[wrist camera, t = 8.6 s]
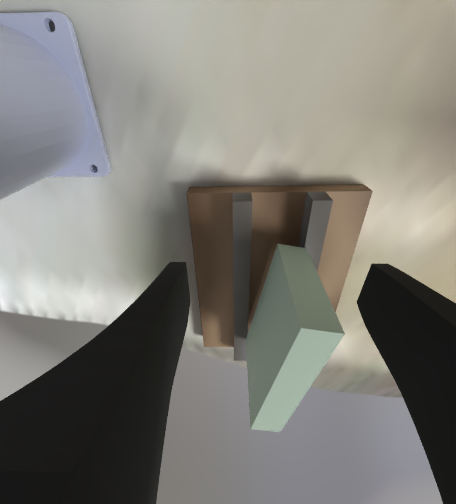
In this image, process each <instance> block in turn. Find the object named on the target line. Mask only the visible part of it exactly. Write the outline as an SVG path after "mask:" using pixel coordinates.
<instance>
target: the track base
mask: <svg viewBox="0 0 456 504" xmlns="http://www.w3.org/2000/svg"><path fill="white" fill-rule="evenodd" d="M371 195H372V190H370V189H369V188H368V187H367V186H365V185H320V186H240V187H189V189H188V192H187V199H188V208H189V217H190V226H191V234H192V243H193V252H194V261H195V270H196V279H197V288H198V297H199V306H200V315H201V323H202V332H203V341H204V347H234V360H247V350H246V337H247V334H248V331H249V328H250V325H251V322H252V319H253V316H254V313H255V310H256V307H257V304H258V301H259V298H260V295H261V292H262V289H263V286H264V283H265V280H266V277H267V274H268V271H269V268H270V265H271V262H272V259H273V256H274V253H275V250H276V247H277V244H282V245H289V246H295V247H301V248H306V249H307V251H308V253H309V255H310V257H311V260H312V262H313V264H314V266H315V269H316V271H317V273H318V275H319V277H320V280H321V282H322V284H323V286H324V289H325V291H326V293H327V295H328V298H329V300H330V302H331V304H332V306H333V309H334V311H335V312H336V309H337V306H338V302H339V299H340V296H341V292H342V289H343V286H344V283H345V279H346V276H347V273H348V270H349V266H350V263H351V260H352V257H353V253H354V250H355V247H356V244H357V240H358V237H359V234H360V230H361V227H362V224H363V221H364V217H365V214H366V211H367V208H368V204H369V201H370V198H371Z"/></svg>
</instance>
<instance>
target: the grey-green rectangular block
mask: <svg viewBox="0 0 456 504" xmlns="http://www.w3.org/2000/svg"><path fill="white" fill-rule="evenodd" d="M344 334H345V333H344V331H343V329H342V327H341V324H340V322H339V320H338V318H337V315H336V313H335V311H334V309H333V306H332V304H331V302H330V300H329V298H328V295H327V293H326V291H325V289H324V286H323V284H322V282H321V280H320V277H319V275H318V273H317V271H316V269H315V266H314V264H313V262H312V260H311V257H310V255H309V253H308V251H307V249H306V248H301V247H295V246H289V245H282V244H277V247H276V250H275V253H274V256H273V259H272V262H271V265H270V268H269V271H268V274H267V277H266V280H265V283H264V286H263V289H262V292H261V295H260V298H259V301H258V304H257V307H256V310H255V313H254V316H253V319H252V322H251V325H250V328H249V331H248V334H247V337H246V350H247V369H248V389H249V409H250V428H251V429H255V430H265V431H275V432H281V430H282V429H283V427H284V426H285V424H286V422H287V421H288V420H289V418H290V417H291V415H292V414H293V412H294V410H295V409H296V407H297V406H298V404H299V403H300V401H301V400H302V398H303V397H304V395H305V394H306V392H307V391H308V389H309V388H310V386H311V385H312V383H313V382H314V380H315V379H316V377H317V376H318V374H319V372H320V371H321V369H322V368H323V366H324V365H325V363H326V362H327V360H328V359H329V357H330V356H331V354H332V353H333V351H334V350H335V348H336V347H337V345H338V344H339V342H340V341H341V339H342V338H343V336H344Z"/></svg>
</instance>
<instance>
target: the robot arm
mask: <svg viewBox="0 0 456 504" xmlns="http://www.w3.org/2000/svg"><path fill="white" fill-rule="evenodd" d="M50 20H52V21H53V22H54V24H55V31H54V32H52V31H51V30H50V28H49V22H50ZM92 165H95V166H96V167H97V168H98V171H95V170H94V169H93V168H92ZM110 172H111V165H110V162H109V158H108V154H107V150H106V147H105V143H104V139H103V135H102V132H101V128H100V124H99V121H98V117H97V113H96V109H95V106H94V102H93V98H92V94H91V91H90V87H89V83H88V80H87V76H86V72H85V68H84V65H83V61H82V57H81V53H80V50H79V46H78V42H77V39H76V35H75V31H74V27H73V25H72V22H71V20H70V19H69V18H68V17H67V16H66V15H65V14H63V13H60V12H23V13H0V200H1V199H3V198H5V197H7V196H9V195H11V194H13V193H15V192H17V191H19V190H21V189H23V188H25V187H27V186H29V185H31V184H33V183H35V182H37V181H39V180H41V179H43V178H45V177H81V176H107V175H108V174H109V173H110ZM357 304H358V307H359V310H360V313H361V316H362V318H363V321H364V323H365V326H366V328H367V330H368V332H369V334H370V335H371V337H372V339H373V341H374V343H375V345H376V347H377V348H378V350H379V352H380V354H381V356H382V358H383V359H384V361H385V363H386V365H387V367H388V369H389V370H390V372H391V374H392V376H393V378H394V380H395V382H396V384H397V386H398V388H399V390H400V392H401V394H402V396H403V398H404V401H405V403H406V405H407V408H408V410H409V412H410V415H411V417H412V419H413V422H414V424H415V426H416V429H417V432H418V434H419V437H420V440H421V442H422V445H423V447H424V450H425V452H426V455H427V458H428V460H429V464H430V466H431V469H432V472H433V475H434V478H435V481H436V483H437V486H438V489H439V492H440V495H441V498H442V501H443V504H456V303H454V302H452V301H451V300H449V299H447V298H446V297H444V296H442V295H441V294H439V293H437V292H436V291H434V290H432V289H431V288H429V287H427V286H426V285H424V284H422V283H421V282H419V281H417V280H416V279H414V278H412V277H411V276H409V275H407V274H406V273H404V272H402V271H400V270H399V269H397V268H395V267H393V266H391V265H389V264H371V267H370V270H369V272H368V275H367V277H366V280H365V282H364V285H363V287H362V290H361V293H360V295H359V298H358V300H357ZM189 307H190V294H189V285H188V276H187V268H186V262H170V263H169V264H168V265H167V266H166V267H165V268H164V270H163V271H162V272H161V273H160V274H159V275H158V277H157V278H156V279H155V280H154V281H153V282H152V283H151V285H150V286H149V287H148V288H147V289H146V290H145V291H144V292H143V293H142V294H141V295H140V296H139V297H138V298H137V300H136V301H135V302H134V303H133V304H131V305H130V306H129V307H128V308H127V309H126V310H125V311H124V312H123V313H122V314H121V315H120V316H119V317H118V318H117V319H116V320H115V321H114V322H112V323H111V324H110V325H109V326H108V327H107V328H106V329H105V330H103V331H102V332H101V333H100V334H98V335H97V336H96V337H95V338H93V340H91V341H90V342H88V343H87V344H86V345H85V346H83V347H81V348H80V349H79V350H77V351H76V352H75V353H73V354H72V355H70V356H69V357H68V358H66V359H65V360H64V361H62V362H61V363H59V364H58V365H57V366H55V367H54V368H52V369H51V370H49V371H48V372H46V373H45V374H43V375H42V376H40V377H39V378H37V379H35V380H34V381H32V382H31V383H29V384H27V385H26V386H24V387H23V388H21V389H20V390H18V391H16V392H15V393H13V394H11V395H10V396H8V397H6V398H5V399H3V400H1V401H0V504H156V498H157V491H158V483H159V475H160V467H161V459H162V452H163V444H164V437H165V430H166V423H167V416H168V410H169V403H170V396H171V390H172V385H173V380H174V376H175V372H176V368H177V364H178V360H179V356H180V352H181V348H182V344H183V340H184V336H185V332H186V327H187V323H188V315H189Z"/></svg>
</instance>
